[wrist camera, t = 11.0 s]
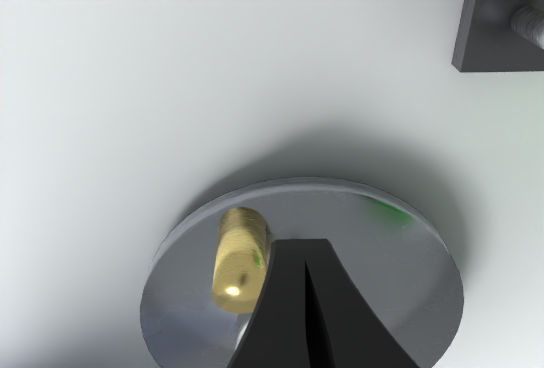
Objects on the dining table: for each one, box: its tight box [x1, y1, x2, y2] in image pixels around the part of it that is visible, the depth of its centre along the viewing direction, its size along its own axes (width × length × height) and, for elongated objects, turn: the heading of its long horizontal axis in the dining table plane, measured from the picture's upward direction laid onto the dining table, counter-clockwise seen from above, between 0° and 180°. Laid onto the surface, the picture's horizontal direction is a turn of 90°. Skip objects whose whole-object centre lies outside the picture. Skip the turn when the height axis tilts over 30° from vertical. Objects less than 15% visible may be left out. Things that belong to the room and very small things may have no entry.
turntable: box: [140, 177, 464, 368], centre depth 23 cm, size 16×16×5 cm
